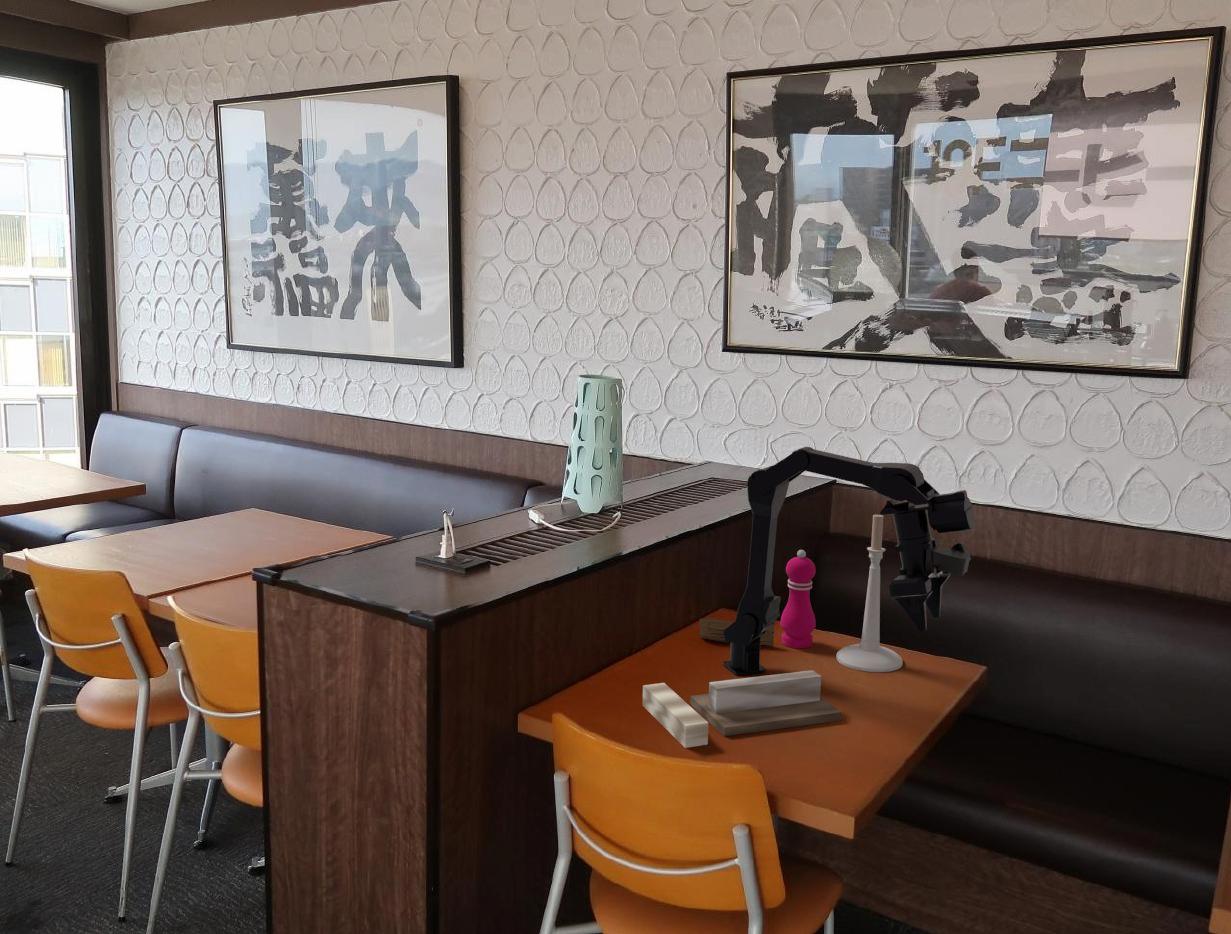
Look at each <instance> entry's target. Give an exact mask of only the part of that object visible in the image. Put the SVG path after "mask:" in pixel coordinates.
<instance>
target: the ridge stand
mask: <svg viewBox="0 0 1231 934" xmlns="http://www.w3.org/2000/svg"><path fill="white" fill-rule="evenodd" d="M708 684H709V685H708V693H704V694H695V695H690V697H689V705H690V706H691V707H692V708H693V709H694V710H695V711H696V712H697V713H698V714H699V715H700V716H702V717H703V718H704V719H705V720H706V721H707V722H708V724H711V726H712V727H713V728H715V730H716V731H717V732H719V733H720V735H721V736H722V737H729V736H738V735H744V734H752V733H758V732H765V731H773V730H781V729H788V728H795V727H802V726H809V725H810V726H811V725H817V724H823V723H824V724H825V723H832V722H838V721H842V711H841V710H840V709H838V708H837V707H836V706H834V705H833V704H831V703H830V702H829V701H827V700H825V699H824V698H823V697H821V686H822V685H821V684H822V676H821V675H820V674H819V673H817V672H816V671H815V670H812V669H811V670H803V671H794V672H785V673H777V674H770V675H760V676H752V677H745V678H744V677H743V678H734V679H725V680H717V681H710V682H708Z"/></svg>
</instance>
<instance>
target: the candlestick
mask: <svg viewBox="0 0 1231 934" xmlns="http://www.w3.org/2000/svg"><path fill="white" fill-rule="evenodd" d="M884 516H885V515H881V514H880V512H879V513H877V514H873V515H872V529H871V541H870V544H871V546H868V547H866V549H867V551H868V553H869V554H868V558H869V559H870V566H869V573H868V582H867V589H866V599H865V606H864V607H865V608H864V615H863V625H862V630H861V631H862V632H861V640H860V643H856V644H851V645H846V646H844V647H842V648H840V649H839V650H838V651H836V652H837V653H836V655H835V656H836V657H835V658H836V661H837V662H839V664H840V665H842V666H845V667H847V668H849V669H853V670H856V671H862V672H867V673H889V672H893V671H896V670H899V669H901V668H902V666H903V661H904V660H903V658H902V657H901V656H900V655H899V653H896V651H894V650H892V649H890V648H888V647H886V646H882V645H881V643H880V640H881V638H880V637H881V636H880V631H881V630H880V623H881V622H880V621H881V617H880V614H881V609H880V608H881V605H880V604H881V594H880V593H881V567H880V563H881V560H882V559H883V557H884V556H883V553H884V552H886V550H887V549H886V548H884V547H882V545H883V532H884V531H883V530H884Z"/></svg>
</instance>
